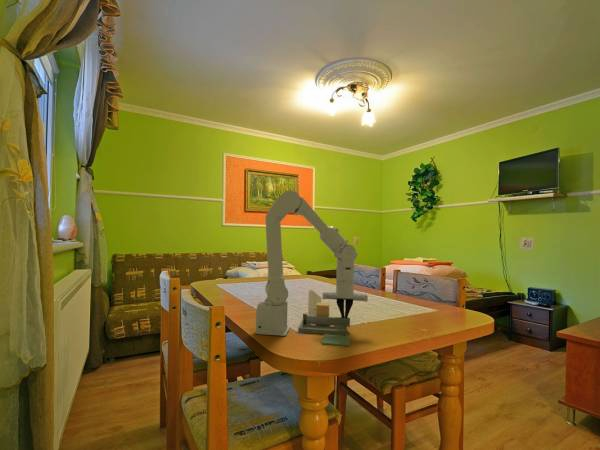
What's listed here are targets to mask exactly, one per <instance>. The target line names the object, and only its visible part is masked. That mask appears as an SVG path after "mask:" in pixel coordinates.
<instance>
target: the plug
mask: <svg viewBox="0 0 600 450" xmlns="http://www.w3.org/2000/svg"><path fill="white" fill-rule="evenodd" d="M317 316H329V317H330V302H322V301H321V302H318V303H317ZM314 325H319V324H314ZM320 326H331V325H320Z"/></svg>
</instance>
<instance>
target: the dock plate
mask: <svg viewBox="0 0 600 450" xmlns="http://www.w3.org/2000/svg"><path fill="white" fill-rule="evenodd" d="M347 328H348V326H333V325H330V326H320V325H315V324H303V319H302V320H301V322H300V323H299V326H298V328H297V332H298V333H306V332H309V334H310V333H311V334H319V333H321V334H323V335H324V334H328V335H342V336H348V335H347V334H348V333H347V332H348V331H347V330H348V329H347Z"/></svg>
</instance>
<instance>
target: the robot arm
mask: <svg viewBox="0 0 600 450" xmlns="http://www.w3.org/2000/svg"><path fill="white" fill-rule="evenodd" d="M292 212H293V214H294V215H297V216H302V217H303V218H304V219H305V220H307V222H308V223H309V224H311V225H312V227H313V228H314V229H315V230H316V231H318V233H319V239H320V241H322V242H323V243H324V244H325V246H327V247H328V248H329V250H330V251H331V252H332V253H333V254H334V258H336V275H335V276H336V278H335V279H336V280H335V281H336V285H335V286H336V288H335V292H333V291H331V292H325V291H324V292H322V300H335V301H336V305H337V307H338V309H339V312H340V317H345V318H349V313H350V311H351V309H352V307H353V305H354V301H357V302H364V303H365V302H367V303H368V302H369V300H368V298H369V295H368V294H363V293H355V289H354V288H355V287H354V286H355V261H356V259H357V257H358V252H357V251H356V250H357V249H356V248H355V247H354V246H353V245H352V244H350V243H349V240H348V239H346V238H344V236H342V235H341V234H340V233H339V231H340V230H339V228H338V227H334V226H333V225H331V226H328V225H327V224H326V223H325V221H323V219H322V218H321V217H320V216H319V215H318V213H317V212H316V211H315V210H314V209H313V208H312V207H311V205H310V204H309V203H308V202H307V200H306V199H304V198H303V197H302V196H300V194H299V192H297V191H295V190H293V189H289V190H288V189H287V190H285V191H284V192H283V193H281V194H280V195H279V196H277V198H276V199H275V200H274V201H273V203H272V205H271V206H270V208H269V210H268V211H267V212H266V215H265V217H264V218H265V234H266V235H265V237H266V240H265V241H266V256H267V283H266V284H265V290H264V291H265V293H266V296H267V297H266V298H265V299H264V301H259V302H258V303H257V306H256V312H255V332H254V334H255V335H267V336H279V337H280V336H281V337H284V336H285V337H286V336H287V335H288V332H289V330H290V329H291V326H290V325H288V307H289V306H288V303H289V302H288V296H289V290H288V287H286V284H285V276H284V268H283V267H284V265H283V249H282V248H283V247H282V246H283V245H282V232H281V231H282V227H281V221H283V219H285V218H286V217H287V215H288V214H290V213H292Z"/></svg>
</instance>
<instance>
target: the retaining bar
mask: <svg viewBox="0 0 600 450" xmlns="http://www.w3.org/2000/svg"><path fill="white" fill-rule="evenodd" d="M302 320H303V324H311V325H315V324H319V325H330V326H347V328H349V327H351V317H348V318H345V316H344V317H341V316H330V315H329V316H314V315H308V313H303V314H302Z"/></svg>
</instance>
